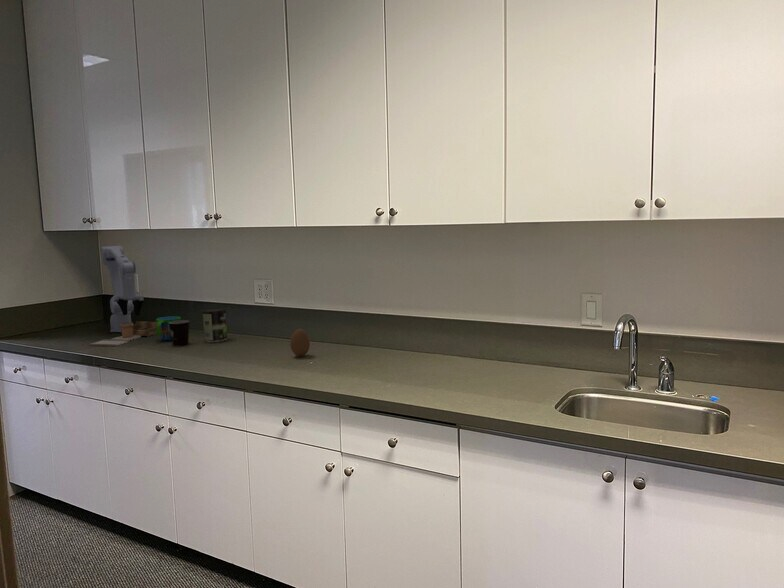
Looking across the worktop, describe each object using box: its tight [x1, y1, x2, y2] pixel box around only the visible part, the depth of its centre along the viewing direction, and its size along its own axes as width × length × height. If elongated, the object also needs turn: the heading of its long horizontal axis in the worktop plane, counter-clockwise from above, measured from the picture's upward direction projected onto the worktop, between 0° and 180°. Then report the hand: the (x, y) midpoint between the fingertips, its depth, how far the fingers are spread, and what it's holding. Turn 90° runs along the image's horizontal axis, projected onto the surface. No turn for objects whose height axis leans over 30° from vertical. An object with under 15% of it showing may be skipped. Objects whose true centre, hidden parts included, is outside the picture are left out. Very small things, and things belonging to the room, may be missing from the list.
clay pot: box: [120, 322, 134, 338], centre depth 289 cm, size 6×6×6 cm
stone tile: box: [110, 335, 142, 342], centre depth 288 cm, size 9×9×1 cm
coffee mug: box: [169, 319, 190, 346], centre depth 271 cm, size 12×9×10 cm
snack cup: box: [155, 315, 182, 342], centre depth 284 cm, size 16×10×10 cm
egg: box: [289, 328, 311, 357], centre depth 242 cm, size 8×8×11 cm
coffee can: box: [201, 307, 228, 343], centre depth 279 cm, size 10×10×14 cm
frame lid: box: [88, 339, 130, 347], centre depth 279 cm, size 14×9×1 cm, turn 75°
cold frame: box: [120, 320, 157, 338], centre depth 300 cm, size 16×11×5 cm
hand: (131, 315), depth 297 cm, fingers open, 7 cm apart
